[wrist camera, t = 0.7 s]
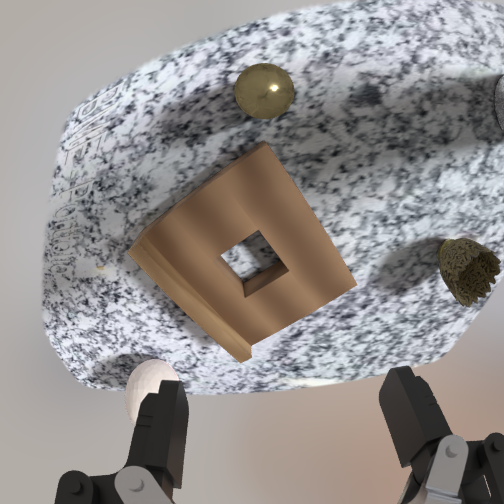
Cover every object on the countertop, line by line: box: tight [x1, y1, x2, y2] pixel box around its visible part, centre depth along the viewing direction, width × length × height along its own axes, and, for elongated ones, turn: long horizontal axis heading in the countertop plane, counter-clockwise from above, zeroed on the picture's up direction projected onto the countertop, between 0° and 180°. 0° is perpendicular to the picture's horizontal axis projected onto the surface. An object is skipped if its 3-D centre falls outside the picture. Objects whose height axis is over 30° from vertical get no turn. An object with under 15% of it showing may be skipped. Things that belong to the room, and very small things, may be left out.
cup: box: [437, 238, 501, 308], centre depth 31 cm, size 8×7×8 cm
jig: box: [128, 141, 357, 363], centre depth 31 cm, size 16×18×5 cm
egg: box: [125, 359, 179, 426], centre depth 36 cm, size 7×7×12 cm
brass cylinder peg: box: [235, 63, 294, 119], centre depth 22 cm, size 4×4×8 cm
